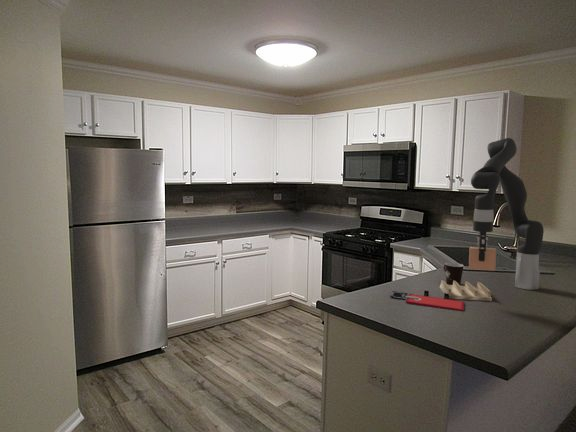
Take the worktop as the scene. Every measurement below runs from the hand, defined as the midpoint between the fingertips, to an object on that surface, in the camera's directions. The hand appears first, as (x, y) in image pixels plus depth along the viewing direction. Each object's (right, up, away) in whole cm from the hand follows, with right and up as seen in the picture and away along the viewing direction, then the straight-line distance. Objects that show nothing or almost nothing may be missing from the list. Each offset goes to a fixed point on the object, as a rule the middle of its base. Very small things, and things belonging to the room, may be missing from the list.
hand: (481, 260), depth 167 cm
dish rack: (-1, -17, +14) cm, 22 cm away
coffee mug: (+1, -16, +32) cm, 36 cm away
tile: (0, -4, 0) cm, 4 cm away
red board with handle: (-22, -19, +3) cm, 29 cm away
